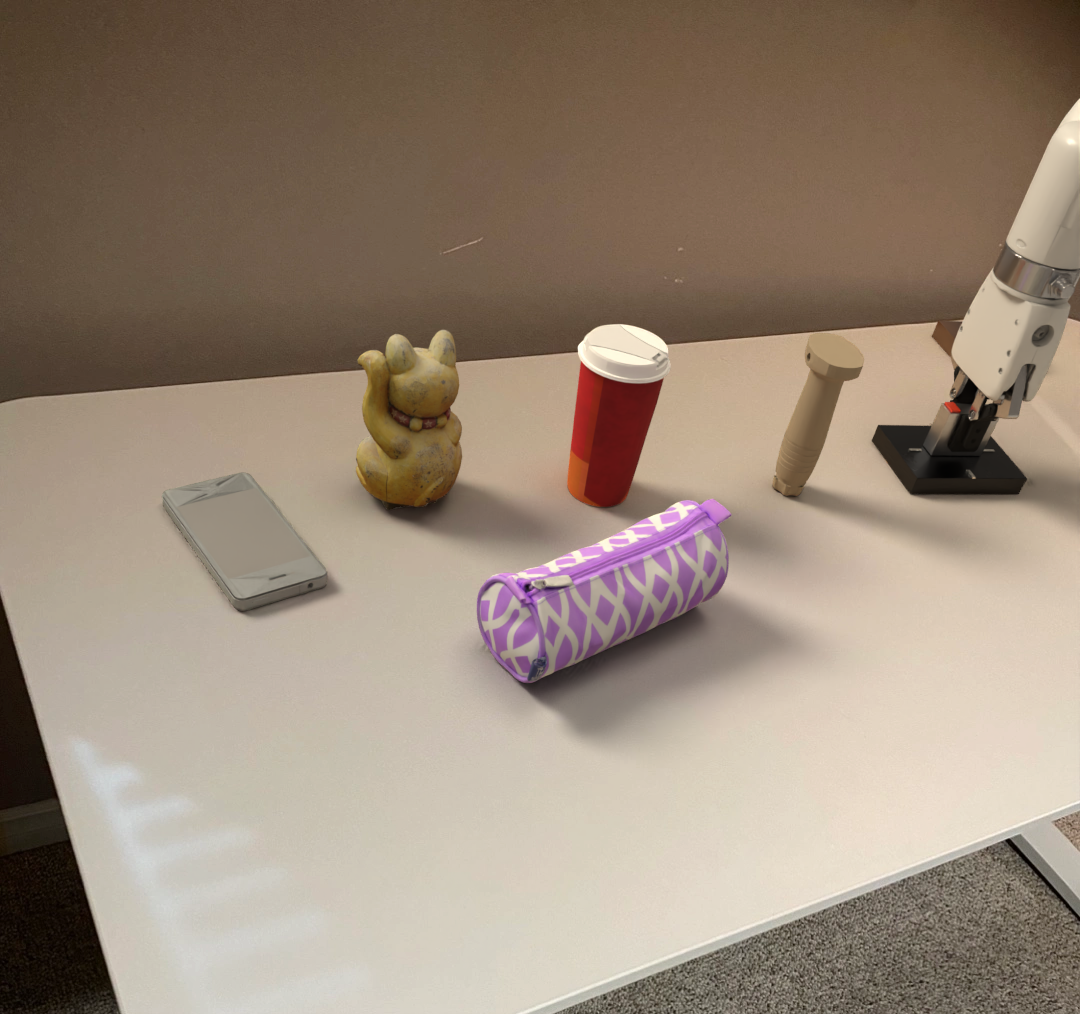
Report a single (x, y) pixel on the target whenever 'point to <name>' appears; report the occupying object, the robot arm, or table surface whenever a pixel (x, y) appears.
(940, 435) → the tap handle
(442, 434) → the decorative figurine
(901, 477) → the base
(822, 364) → the handle
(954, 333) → the button block
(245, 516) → the phone
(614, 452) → the coffee cup
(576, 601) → the pencil case
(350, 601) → the table surface
